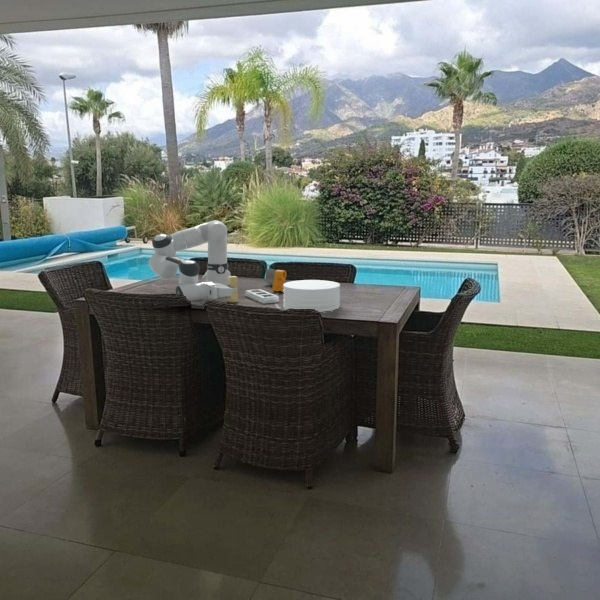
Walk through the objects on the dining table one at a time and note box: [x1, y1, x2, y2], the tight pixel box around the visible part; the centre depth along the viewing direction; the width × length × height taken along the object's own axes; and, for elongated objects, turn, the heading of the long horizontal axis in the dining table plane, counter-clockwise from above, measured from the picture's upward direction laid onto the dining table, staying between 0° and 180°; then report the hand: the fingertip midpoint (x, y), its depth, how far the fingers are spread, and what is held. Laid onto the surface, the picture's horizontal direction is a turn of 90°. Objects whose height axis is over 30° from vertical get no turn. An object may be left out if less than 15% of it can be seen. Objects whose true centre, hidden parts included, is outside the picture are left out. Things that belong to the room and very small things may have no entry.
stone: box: [264, 268, 286, 286], centre depth 348 cm, size 15×5×10 cm, turn 47°
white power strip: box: [244, 288, 280, 305], centre depth 308 cm, size 24×9×3 cm, turn 27°
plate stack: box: [282, 279, 341, 311], centre depth 288 cm, size 28×28×12 cm
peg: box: [227, 275, 239, 304], centre depth 300 cm, size 4×4×13 cm
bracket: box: [271, 269, 287, 293], centre depth 330 cm, size 11×7×12 cm, turn 152°
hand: (234, 288), depth 301 cm, fingers closed on peg, 4 cm apart
